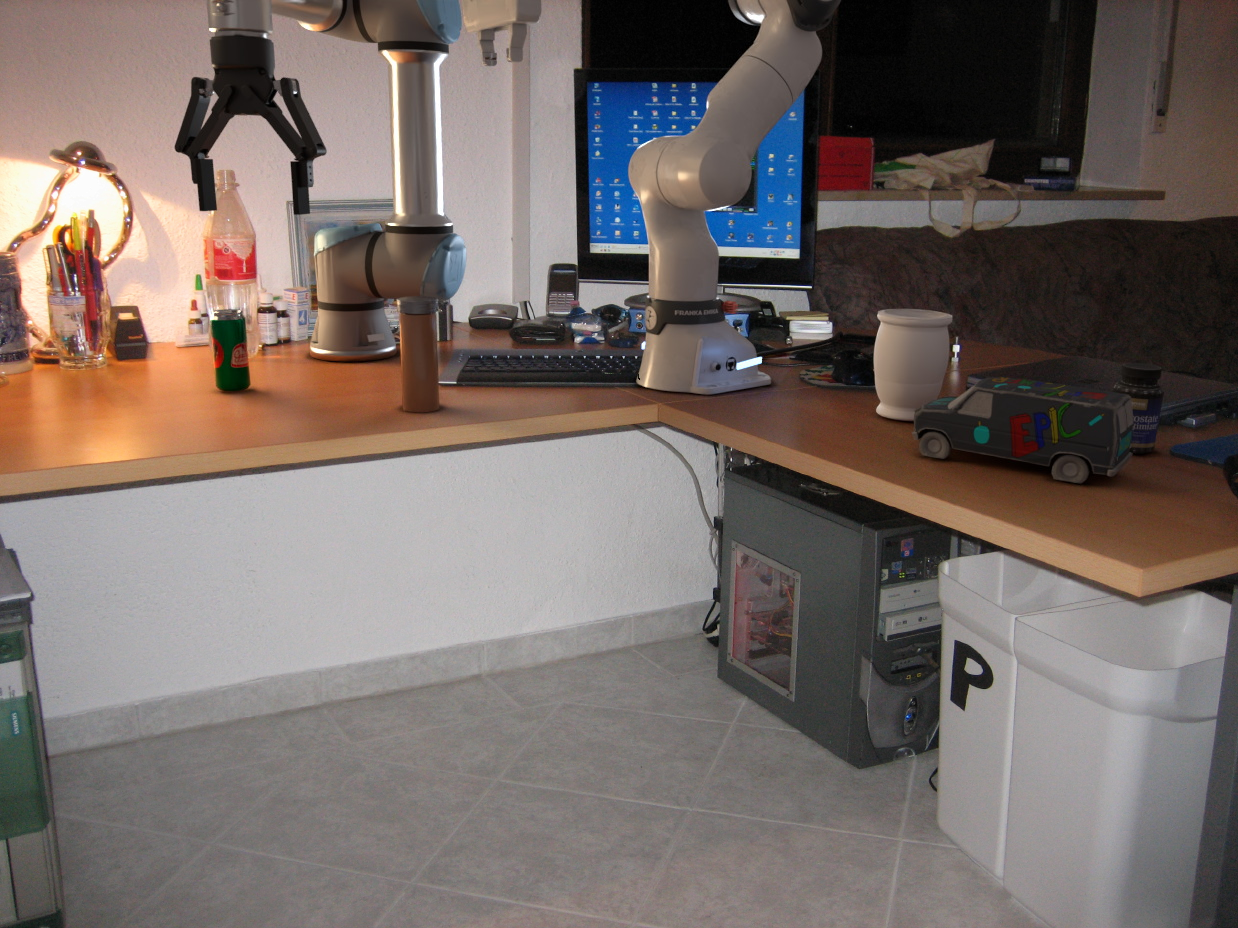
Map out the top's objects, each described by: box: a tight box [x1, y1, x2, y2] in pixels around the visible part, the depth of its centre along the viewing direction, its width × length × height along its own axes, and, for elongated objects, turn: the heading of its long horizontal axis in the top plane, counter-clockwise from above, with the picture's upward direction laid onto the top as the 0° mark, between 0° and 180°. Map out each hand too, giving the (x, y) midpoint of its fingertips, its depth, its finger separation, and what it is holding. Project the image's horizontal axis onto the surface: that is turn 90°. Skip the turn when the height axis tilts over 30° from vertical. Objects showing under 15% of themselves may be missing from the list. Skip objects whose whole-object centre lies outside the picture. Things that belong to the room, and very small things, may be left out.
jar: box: [873, 308, 953, 422], centre depth 154 cm, size 11×10×15 cm
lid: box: [396, 296, 439, 314], centre depth 152 cm, size 6×6×2 cm
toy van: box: [911, 376, 1135, 484], centre depth 132 cm, size 11×25×10 cm, turn 54°
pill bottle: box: [1111, 362, 1165, 455], centre depth 139 cm, size 6×6×11 cm
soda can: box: [209, 308, 251, 393], centre depth 163 cm, size 5×5×12 cm
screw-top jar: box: [398, 312, 440, 413], centre depth 154 cm, size 5×5×16 cm
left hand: (254, 213), depth 138 cm, fingers open, 13 cm apart
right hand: (501, 64), depth 148 cm, fingers open, 8 cm apart
